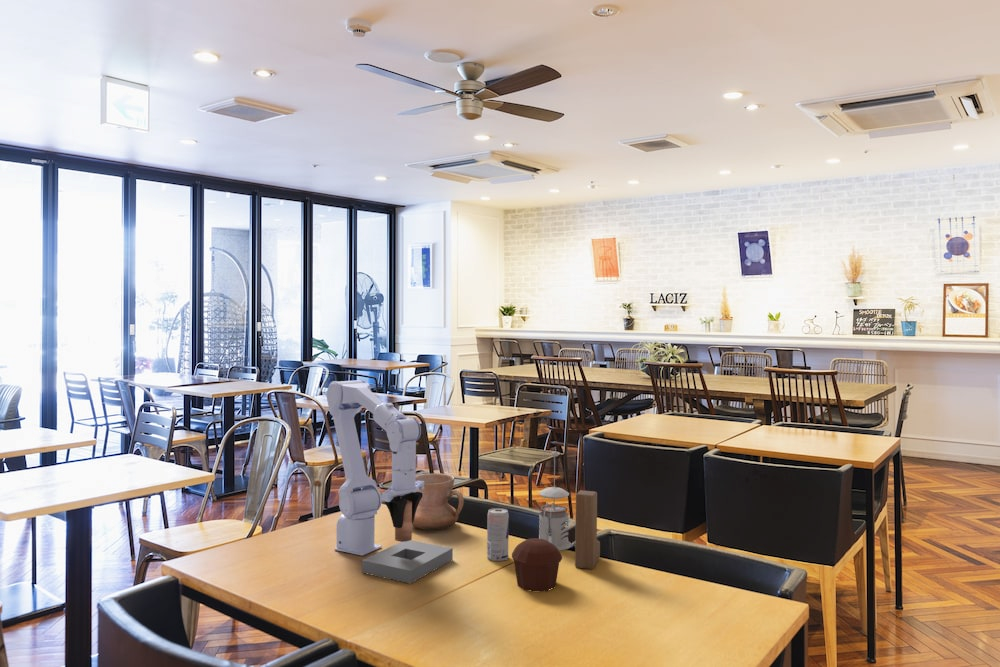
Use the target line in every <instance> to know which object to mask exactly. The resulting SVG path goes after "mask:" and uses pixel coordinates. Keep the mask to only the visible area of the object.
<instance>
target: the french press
mask: <svg viewBox="0 0 1000 667" xmlns="http://www.w3.org/2000/svg"><path fill="white" fill-rule="evenodd" d="M558 456H559V452H558V451H552V452H551V457H553V461H554V463H553V464H554V465H553V466H554V468H553V486H551V487H550V486H549V487H546V488H544V489H542V490H540V491H539V492H538V495H539V496H540V497H541V498H544V499H553V502H552V503H551V504H549V503H548V501H546V502H545V505H542V506H541V507H540V512H539V514H538V517H539V518H538V521H539V524H538V525H539V526H538V527H539V528H538V532H539V533H538V538H539V539H544V540H547V541H549V542H550V543H552V544H553V545H555V546H556V547H557V549H558V550H559V551H564V550H568V549H570V548H571V547H572V543H571V541H569V532H568V531H569V513H568V512H567V511H568V507H566V506H563V505H561V504H560V505H559V504H555V499H556V500H558V499H564V498H567V497H569V496H570V492H568V491H567V490H565V489H563V488H561V487H556V482H555V481H556V457H558Z"/></svg>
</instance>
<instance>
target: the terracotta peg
mask: <svg viewBox="0 0 1000 667" xmlns="http://www.w3.org/2000/svg"><path fill="white" fill-rule="evenodd" d="M412 532H413V525H412V501H410V500H407V504H406V506H405V510H404V516H403V525H402V528H396V527H394V540H395V541H396V542H399V543H400V542H405V541H410V540H412V538H413V533H412Z"/></svg>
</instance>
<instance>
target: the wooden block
mask: <svg viewBox="0 0 1000 667" xmlns="http://www.w3.org/2000/svg"><path fill="white" fill-rule="evenodd" d="M597 531H598V492H597V491H592V490H591V491H590V490H581V489H580V490H578V492H577V493H576V494H575V533H574V535H575V538H574V539H575V542H574V544H575V546H574V548H575V550H574V552H575V553H574V556H575V557H574V566H575V568H577V569H579V568H580V569H586V570H593V569H594V568H595V567H596V564H597V563H598V561H599V560H600V557H601V541H600V540H598V532H597Z"/></svg>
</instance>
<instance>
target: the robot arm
mask: <svg viewBox="0 0 1000 667" xmlns="http://www.w3.org/2000/svg"><path fill="white" fill-rule="evenodd" d="M325 397H326V401H327V405H328V409H329V415H331V417H332V419H333V423H334V429H335V434H336V438H337V442H338V446H339V452H340V456H341V462H342V466H343V470H344V476H345V481H344V483H342V485H340V488H339V489H338V495H339V498H338V506H339V510H340V512H341V515H339V517H338V519H337V523H336V546H335V547H334V550H335V551H338V552H343V553H344V552H345V553H349V554H353V555H358V556H366V555H367V554H368V555H369V553H372V552H374V551H376V550H378V549H380V548H381V549H382V547H383V546H382V545H381V544H378V543H377V544H376V543H375V536H376V535H375V531H376V530H375V526H376V525H375V524H376V523H375V521H376V520H375V516H376V515H378V511H379V510H380V508H381V507H382V503H383V502H384V504H385V505H386V507H387V510H388V512H389V515H390V518H391V522H392V526H393V528H395V527H396V528H402V525H403V516H404V510H405V506H406V504H407V500H410V501H412V523H413V521H414V517H415V513H416V510H417V507H418V504H419V502H420V500H421V498H422V497H423V493H421V492H418V491H419V489H420V490H422V489H424V481H416V477H417V475H416V474H417V472H416V470H417V469H416V468H417V466H416V465H417V462H416V461H417V458H416V456H417V454H416V453H417V441H418V440H419V439H420V438H421V435H422V427H421V423H420V421H419V420H418V419H417V417H414V416H411V417H408V416H406V415H405V414H404V413H403V412H401V411H399V410H398V409H397V408H396V407H394V404H393V403H392V402H382V401H381V400H380V399H379V398H378V397H377V396H376V394H374V393H373V391H372V388H371V384H370V383H368V382H367V381H366V380H365V379H357V380H344V381H343V380H341V381H339V380H338V381H336V380H333V381H331V382H330V383H329V384H328V387H327V390H326V393H325ZM363 408H364V409H366V410H367V411H369V412H370V413H371V414H372V418H373V420H374V423H376V424H377V425H379V426H380V428H382V429H383V430H384V431H385V432H386V436H387V439H388V442H389V450H390V451H391V486H390V487H389V488H388V489H387V490H385V491H383V492H380V490H379V487H378V486H377V485H378V484H377V481H376V480H374V479H373V478H372V477H370V476H368V475H367V472H366V468H365V463H364V458H363V453H362V448H361V445H360V441H359V435H358V432H357V427H356V422H355V416H356V415H357V414H358V413H360V412H361V410H362V409H363Z"/></svg>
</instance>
